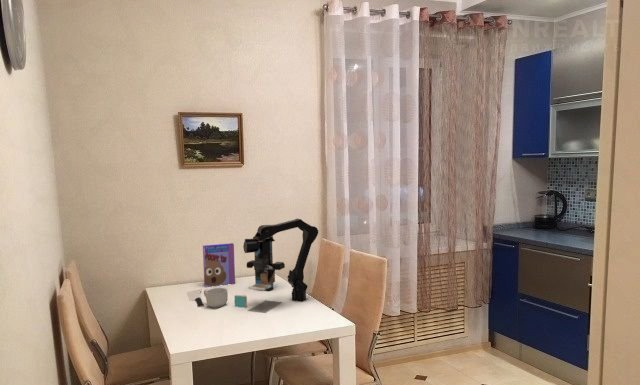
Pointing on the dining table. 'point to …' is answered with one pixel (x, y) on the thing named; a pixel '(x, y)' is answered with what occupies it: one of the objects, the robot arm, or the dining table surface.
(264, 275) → the turner
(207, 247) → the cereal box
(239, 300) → the tile
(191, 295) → the kitchen cleaver
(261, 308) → the mat
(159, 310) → the dining table surface
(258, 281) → the advertising column
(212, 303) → the teacup
